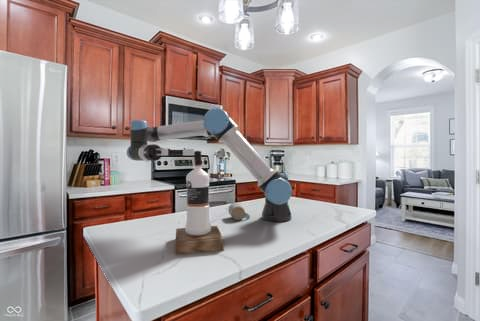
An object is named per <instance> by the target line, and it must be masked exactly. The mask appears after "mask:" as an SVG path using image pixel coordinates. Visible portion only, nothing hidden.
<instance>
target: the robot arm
mask: <svg viewBox="0 0 480 321" xmlns="http://www.w3.org/2000/svg"><path fill="white" fill-rule="evenodd" d="M238 127H239V126H238V125H237V123H236V122H235V121H234V120H233V119H232V117H231V116H230V115H229V114H228V112H227V111H226V110H225V109H222V108H219V107H214V108H213V107H212V108H211V109H209V110H208V111H207V112H206V113H205V114H204V117H203V120H198V121H191V122H190V121H189V122H182V123H174V124H167V125H166V124H165V125H160V126H153V127H151V126H148V123H147V120H142V119H133V120H131V121H130V128H129V129H130V132H129V133H130V136H129V137H130V146H128V148H127V149H126V156H127V157H128V159H130V160H132V161H141V162H142V161H143V162H144V161H145V162H147V163H149V161H152V162H153V161H154V162H157V161H159V160H161V158H163V157H171V156H194V151H195V148H187V149H186V148H185V147H184V148H183V149H170V148H164V147H161V146H160V145H158V144H154V143H155V142H159V141H164V140H165V141H166V140H173V139H181V138H191V137H199V136H207V137H214V139H216V140H217V142H218V143H222V144H224V145H225V146H226V147H227V148H228V149H229V150H230V152H231V153H233V155H234V156H235V157H236V158H237V159H238V160H239V162H240V163H241V164H242V165H243V167H245V168H246V169H247V171H248V172H249V173H250V174H251V175H252V176H253V178H254V179H255V180H256V181H257V187H258V188H259V189H260V190H261V191H262V192H263V194H264V197H265V198H264V199H265V202H264V206H263V208H262V212H261V219H263V220H265V221H267V222H269V221H270V222H274V223H275V222H280V223H281V222H287V221H290V220H292V212H291V210H290V206H289V201H290V199H291V197H292V194H293V189H292V184H291V183H290V182H289V176H288V174H287V173H282V172H281V173H280V172H279V171H278V169H274V168H271V166H270V165H269V164H268V163H267V162H266V161H265V160H264V159H263V157H262V156H261V155H260V154H259V153H258V152H257V151H256V149H255V148H254V147H253V146H252V145H251V144H250V142H249V141H248V140H247V139H246V138H245V137H244V136H243V135H242V133H241V132H240V131H239V130H238V129H239V128H238ZM148 142H150V143H153V144H148Z"/></svg>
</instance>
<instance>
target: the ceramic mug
mask: <svg viewBox="0 0 480 321" xmlns="http://www.w3.org/2000/svg"><path fill="white" fill-rule="evenodd" d="M228 214H229V215H230V216H231V218H232V219H233V220H235V221H241V220H243V219H244V218H245V219H250V217H251V215H250V214H249V213H247V212H245V208H244V207H243V206H242V205H241V203H238V202H233V203H231V204H229V206H228Z"/></svg>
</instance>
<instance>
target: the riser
mask: <svg viewBox="0 0 480 321" xmlns="http://www.w3.org/2000/svg"><path fill="white" fill-rule="evenodd" d="M224 239H225V238H224V237H223V235H222V233H221V231H220V229H219V227H218V226H217V225H211V231H210V232H209V233H208V234H206V235H203V236H190V235H188V234H187V233H186V232H185V227H183V228H182V227H181V228H180V227H179V228H176V229H175V239H174V240H175V243H174V244H175V247H174V248H175V252H174V253H175V254H174V255H175V256H178V255H180V254H181V255H188V254H189V255H190V254H199V253H200V254H201V253H209V252H210V253H211V252H220V251H224V247H225V246H224V243H225V242H224Z"/></svg>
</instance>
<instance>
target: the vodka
mask: <svg viewBox="0 0 480 321" xmlns="http://www.w3.org/2000/svg"><path fill="white" fill-rule="evenodd" d="M193 156H194V157H193V158H194V159H193V160H194V162H193V163H194V166H193V169H192V170H191V171H189V173H187V175H186V177H185V181H186V184H185V186H186V206H185V207H186V220H185V221H186V223H185V227H184V228H185V232H186V233H187V234H188V235H190V236H203V235H206V234H208V233H209V232H210V231H211V226H212V225H211V220H210V189H209V188H210V176H209V173H208V172H206V171H205V170H204V169H202V151H201V150H194V155H193Z"/></svg>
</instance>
